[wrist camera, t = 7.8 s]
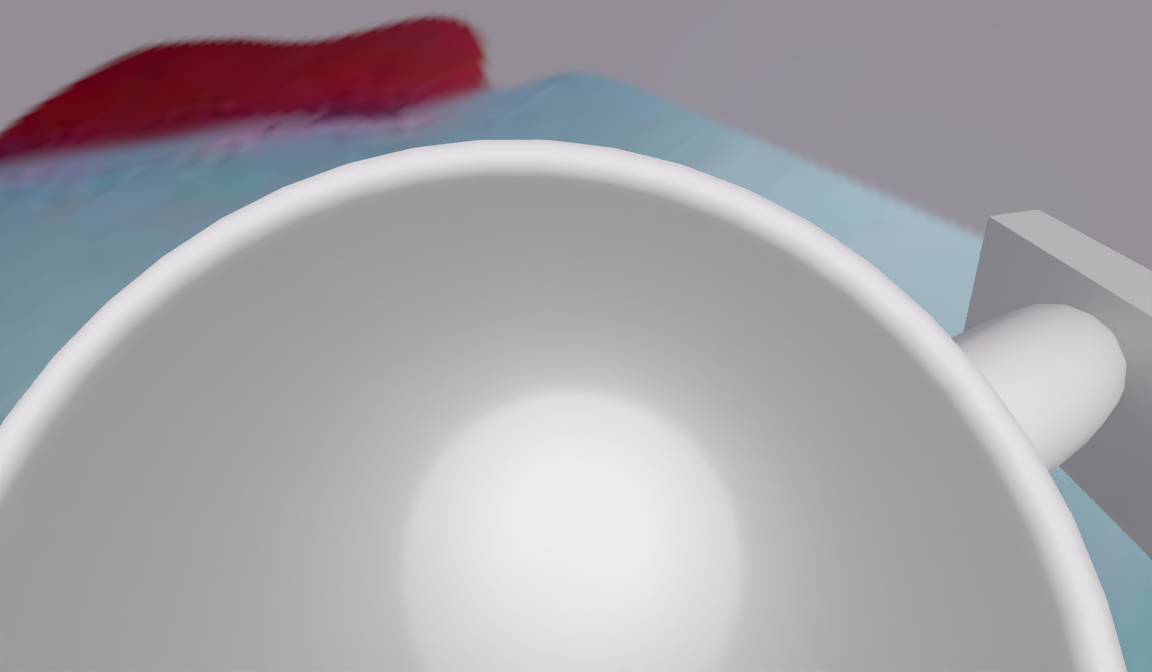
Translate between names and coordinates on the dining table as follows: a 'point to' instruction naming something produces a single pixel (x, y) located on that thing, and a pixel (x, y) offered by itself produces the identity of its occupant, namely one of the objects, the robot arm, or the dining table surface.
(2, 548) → the mug
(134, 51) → the dining table surface
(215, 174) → the dining table surface
